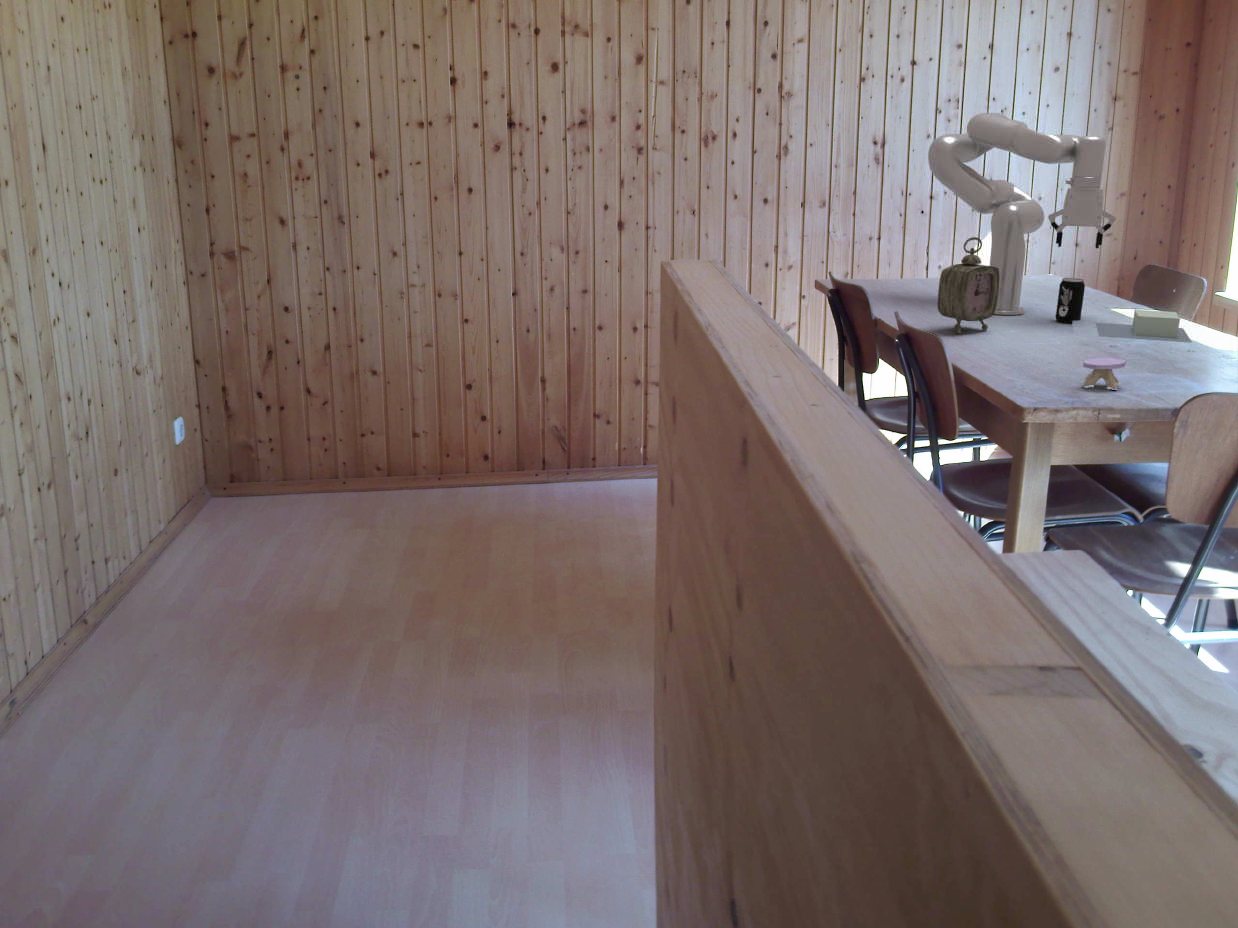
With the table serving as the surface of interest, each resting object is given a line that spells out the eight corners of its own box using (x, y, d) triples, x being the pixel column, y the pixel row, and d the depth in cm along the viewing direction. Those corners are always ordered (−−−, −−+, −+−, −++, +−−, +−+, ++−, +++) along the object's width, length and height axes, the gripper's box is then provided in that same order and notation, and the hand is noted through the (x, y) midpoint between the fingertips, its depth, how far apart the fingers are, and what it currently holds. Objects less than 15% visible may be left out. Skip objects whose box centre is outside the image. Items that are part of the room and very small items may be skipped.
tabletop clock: (958, 336, 296) (967, 240, 289) (931, 330, 304) (940, 237, 296) (994, 330, 304) (1004, 237, 296) (967, 325, 311) (977, 234, 304)
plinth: (1135, 335, 294) (1137, 316, 293) (1132, 328, 303) (1134, 309, 302) (1177, 337, 291) (1180, 318, 290) (1172, 330, 300) (1175, 312, 299)
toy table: (1110, 381, 250) (1114, 356, 248) (1134, 391, 242) (1137, 365, 240) (1069, 382, 249) (1072, 357, 247) (1091, 392, 240) (1095, 366, 239)
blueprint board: (1098, 339, 293) (1099, 336, 293) (1094, 326, 311) (1095, 322, 311) (1191, 346, 286) (1192, 342, 286) (1182, 331, 304) (1182, 328, 304)
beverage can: (1081, 324, 313) (1087, 281, 309) (1057, 323, 314) (1062, 280, 311) (1077, 320, 319) (1083, 278, 316) (1053, 319, 321) (1058, 277, 317)
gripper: (1052, 183, 304) (1044, 247, 310) (1121, 185, 299) (1112, 250, 304) (1051, 182, 311) (1044, 244, 316) (1119, 183, 306) (1111, 247, 311)
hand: (1078, 247), depth 310 cm, fingers open, 9 cm apart
